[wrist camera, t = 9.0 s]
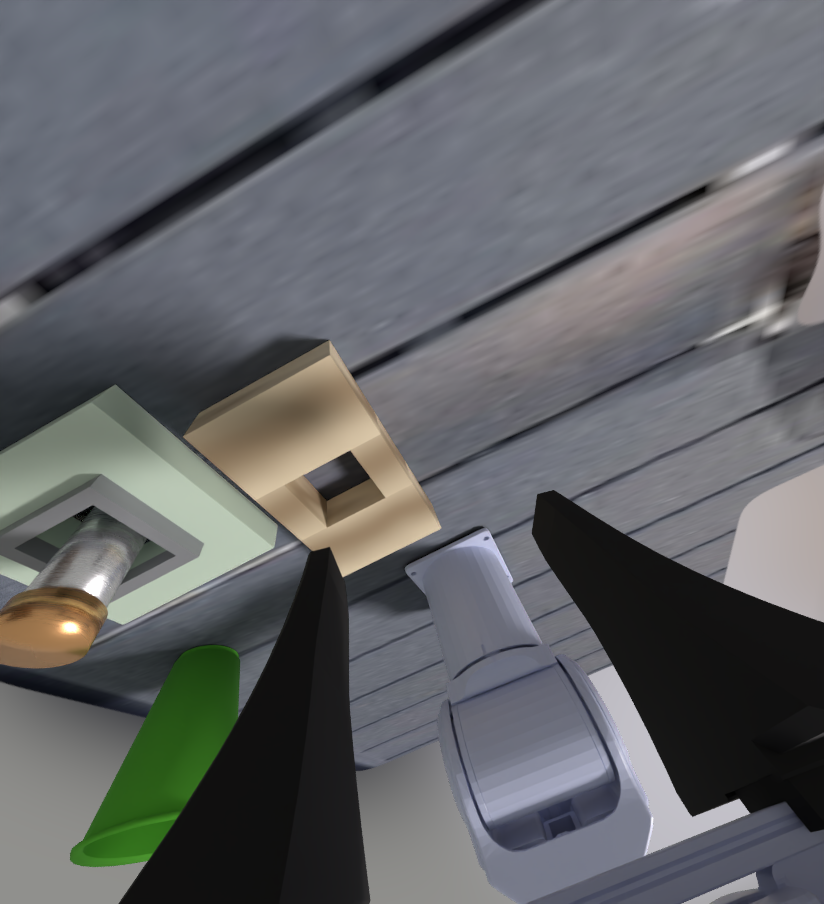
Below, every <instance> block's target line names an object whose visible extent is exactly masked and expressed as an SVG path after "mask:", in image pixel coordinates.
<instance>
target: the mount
mask: <svg viewBox="0 0 824 904" xmlns="http://www.w3.org/2000/svg"><path fill="white" fill-rule="evenodd" d="M183 438H185V439H186V440H187V441H188V442H189V443H190V444H191V445H193V446H194V447H195V448H196V449H197V450H198V451H199V452H201V453H202V454H203V455H204V456H205V457H206V458H207V459H209V460H210V461H211V462H212V463H213V464H214V465H215V466H216V467H218V468H219V469H220V470H221V471H222V472H223V473H224V474H226V475H227V476H228V477H229V478H230V479H231V480H232V481H234V482H235V483H236V484H237V485H238V486H239V487H240V488H242V489H243V490H244V491H245V492H246V493H247V494H248V495H249V496H251V497H252V498H253V499H254V500H255V501H256V502H257V503H259V504H260V505H261V506H262V507H263V508H264V509H265V510H267V511H268V512H269V513H270V514H271V515H272V516H273V517H275V518H276V519H277V520H278V521H279V522H280V523H281V524H282V525H284V526H285V527H286V528H287V529H288V530H289V531H290V532H292V533H293V534H294V535H295V536H296V537H297V538H298V539H300V540H301V541H302V542H303V543H304V544H305V545H306V546H307V547H309V548H310V549H311V550H312V551H315V550H319V549H323V548H327V547H330V548H331V550H332V553H333V555H334V558H335V560H336V562H337V565H338V567H339V570H340V572H341V574H342V577H344V576H346V575H348V574H350V573H352V572H354V571H357V570H359V569H361V568H363V567H365V566H367V565H369V564H371V563H373V562H375V561H377V560H379V559H381V558H383V557H385V556H387V555H389V554H391V553H393V552H395V551H397V550H399V549H401V548H403V547H405V546H407V545H409V544H411V543H413V542H415V541H417V540H419V539H421V538H423V537H425V536H427V535H429V534H431V533H433V532H435V531H437V530H439V529H441V526H440V524H439V521H438V519H437V516H436V514H435V511H434V508H433V506H432V504H431V502H430V501H429V499H428V497H427V496H426V494H425V492H424V491H423V489H422V488H421V486H420V484H419V483H418V481H417V480H416V478H415V476H414V475H413V473H412V472H411V470H410V468H409V467H408V465H407V464H406V462H405V460H404V459H403V457H402V456H401V454H400V452H399V451H398V449H397V448H396V446H395V444H394V443H393V441H392V440H391V438H390V436H389V435H388V433H387V432H386V430H385V428H384V427H383V425H382V424H381V422H380V420H379V419H378V417H377V415H376V414H375V412H374V411H373V409H372V407H371V406H370V404H369V403H368V401H367V399H366V398H365V396H364V395H363V393H362V391H361V390H360V388H359V387H358V385H357V383H356V382H355V380H354V379H353V377H352V375H351V374H350V372H349V371H348V369H347V367H346V366H345V364H344V363H343V361H342V359H341V358H340V356H339V355H338V353H337V351H336V350H335V348H334V347H333V345H332V343H331V342H330V340H328V341H327V342H325V343H323V344H321V345H319V346H318V347H316V348H314V349H312V350H311V351H309V352H307V353H305V354H303V355H302V356H300V357H298V358H296V359H294V360H293V361H291V362H289V363H287V364H286V365H284V366H282V367H280V368H278V369H277V370H275V371H273V372H271V373H270V374H268V375H266V376H264V377H262V378H261V379H259V380H257V381H255V382H253V383H252V384H250V385H248V386H246V387H245V388H243V389H241V390H239V391H237V392H236V393H234V394H232V395H230V396H228V397H227V398H225V399H223V400H221V401H220V402H218V403H216V404H214V405H212V406H211V407H209V408H207V409H205V410H203V411H202V412H200V413H199V414H198V415H197V417H196V418H195V420H194V421H193V423H192V424H191V426H190V427H189V428H188V430H187V431H186V433H185V434H184V436H183ZM348 451H351V452H352V453H353V455H354V456H355V457H356V459H357V460H358V461H359V463H360V464H361V465H362V467H363V468H364V470H365V471H366V472H367V474H368V475H369V476H370V479H369V480H367V481H365V482H363V483H361V484H359V485H357V486H355V487H353V488H351V489H349V490H347V491H345V492H343V493H341V494H340V495H338V496H336V497H334V498H332V499H330V500H328V501H326V500H325V498H324V497H323V496H322V495H321V494H320V493H319V492H318V491H317V490H316V489H315V488H314V487H313V486H312V484H311V483H310V482H309V481H308V480H307V479H306V478H305V477H304V476H303V475H304V474H306V473H308V472H310V471H312V470H314V469H316V468H318V467H319V466H321V465H323V464H325V463H327V462H329V461H331V460H333V459H335V458H337V457H338V456H340V455H342V454H344V453H346V452H348Z"/></svg>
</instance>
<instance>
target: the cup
mask: <svg viewBox="0 0 824 904" xmlns="http://www.w3.org/2000/svg"><path fill="white" fill-rule="evenodd" d="M239 678H240V659H239V655H238V653H237V652H236V651H235V650H234V649H232V648H229V647H226V646H220V645H206V646H200V647H195V648H192V649H190V650H188V651H186V652H184V653H183V654H182V655H181V656H180V657H179V659H178V660H177V661H176V662H175V663H174V665H173V667H172V669H171V671H170V673H169V675H168V677H167V679H166V681H165V682H164V684H163V686H162V688H161V690H160V692H159V694H158V696H157V698H156V700H155V702H154V704H153V706H152V708H151V710H150V711H149V713H148V715H147V717H146V719H145V721H144V723H143V725H142V727H141V729H140V731H139V733H138V735H137V737H136V739H135V741H134V743H133V744H132V746H131V748H130V750H129V752H128V754H127V756H126V758H125V760H124V762H123V764H122V766H121V768H120V770H119V771H118V773H117V775H116V777H115V779H114V781H113V783H112V785H111V787H110V789H109V791H108V793H107V795H106V797H105V799H104V801H103V802H102V804H101V806H100V808H99V810H98V812H97V814H96V816H95V818H94V820H93V822H92V824H91V826H90V828H89V830H88V832H87V833H86V835H85V837H84V839H83V841H81V842H79V843H78V844H77V845H76V846H75V847H73V848H72V850H71V853H70V860H71V861H72V862H73V863H74V864H77V865H80V866H89V867H102V866H116V865H125V864H132V863H138V862H143V861H148V860H149V859H150V857H151V856H152V854H153V853H154V851H155V850H156V848H157V847H158V846H159V844H160V843H161V841H162V840H163V838H164V837H165V835H166V834H167V832H168V831H169V830H170V828H171V827H172V825H173V824H174V822H175V820H176V819H177V817H178V816H179V814H180V813H181V811H182V810H183V808H184V807H185V805H186V803H187V802H188V800H189V799H190V797H191V795H192V794H193V792H194V791H195V789H196V788H197V786H198V784H199V783H200V781H201V780H202V778H203V776H204V775H205V773H206V772H207V770H208V768H209V767H210V765H211V764H212V762H213V760H214V759H215V757H216V756H217V754H218V752H219V751H220V749H221V747H222V745H223V744H224V742H225V740H226V739H227V737H228V735H229V733H230V732H231V730H232V728H233V726H234V724H235V723H236V721H237V719H238V702H239Z"/></svg>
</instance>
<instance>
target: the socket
mask: <svg viewBox="0 0 824 904" xmlns="http://www.w3.org/2000/svg"><path fill="white" fill-rule="evenodd" d="M92 505H94V506H95V507H97V508H99V509H100V510H102V511H104V512H105V513H107V514H108V515H110V516H112V517H113V518H115V519H117V520H118V521H120V522H122V523H123V524H125V525H126V526H128V527H130V528H131V529H133V530H135V531H136V532H138V533H140V534H141V535H143V536H144V537H146V538H148V539H149V540H151V541H149V542H148V543H146V544H144V545H143V546H142V548H141V550H140V551H139V553H138V555H137V557H136V558H135V560H134V562H133V564H132V565H131V567H130V569H129V571H128V572H127V574H126V576H125V577H124V579H123V581H122V583H121V584H120V586H119V588H118V590H117V591H116V593H115V595H114V597H113V598H112V600H111V602H110V603H109V605H108V607H107V610H108V616H107V618H108V619H110V620H113V621H115V622H117V623H120V624H122V625H124V624H126V623H128V622H130V621H132V620H134V619H136V618H138V617H140V616H142V615H144V614H145V613H147V612H149V611H151V610H153V609H155V608H157V607H159V606H161V605H163V604H165V603H167V602H169V601H171V600H173V599H175V598H177V597H179V596H181V595H183V594H185V593H187V592H188V591H190V590H192V589H194V588H196V587H198V586H200V585H202V584H204V583H206V582H208V581H210V580H212V579H214V578H216V577H218V576H220V575H222V574H224V573H226V572H228V571H229V570H231V569H233V568H235V567H237V566H239V565H241V564H243V563H245V562H247V561H249V560H251V559H253V558H255V557H257V556H259V555H261V554H263V553H265V552H267V551H269V550H271V549H272V548H274V546H275V540H276V533H277V527H278V525H277V524H276V523H275V522H274V521H272V520H271V519H270V518H269V517H268V516H267V515H266V514H264V513H263V512H262V511H261V510H260V509H259V508H257V507H256V506H255V505H254V504H253V503H252V502H251V501H249V500H248V499H247V498H246V497H245V496H244V495H242V494H241V493H240V492H239V491H238V490H237V489H236V488H234V487H233V486H232V485H231V484H230V483H229V482H227V481H226V480H225V479H224V478H223V477H222V476H221V475H219V474H218V473H217V472H216V471H215V470H214V469H212V468H211V467H210V466H209V465H208V464H207V463H206V462H204V461H203V460H202V459H201V458H200V457H199V456H197V455H196V454H195V453H194V452H193V451H192V450H191V449H189V448H188V447H187V446H186V445H185V444H184V443H182V442H181V441H180V440H179V439H178V438H177V437H176V436H174V435H173V434H172V433H171V432H170V431H169V430H167V429H166V428H165V427H164V426H163V425H162V424H160V423H159V422H158V421H157V420H156V419H155V418H154V417H152V416H151V415H150V414H149V413H148V412H147V411H145V410H144V409H143V408H142V407H141V406H140V405H139V404H137V403H136V402H135V401H134V400H133V399H132V398H130V397H129V396H128V395H127V394H126V393H125V392H124V391H122V390H121V389H120V388H119V387H118V386H117V385H114V386H112V387H110V388H108V389H107V390H105V391H103V392H102V393H100V394H98V395H96V396H95V397H93V398H91V399H90V400H88V401H86V402H84V403H83V404H81V405H79V406H78V407H76V408H74V409H72V410H71V411H69V412H67V413H65V414H64V415H62V416H60V417H59V418H57V419H55V420H53V421H52V422H50V423H48V424H47V425H45V426H43V427H41V428H40V429H38V430H36V431H35V432H33V433H31V434H29V435H28V436H26V437H24V438H23V439H21V440H19V441H17V442H16V443H14V444H12V445H11V446H9V447H7V448H5V449H4V450H2V451H0V574H2V575H4V576H6V577H9V578H11V579H14V580H16V581H19V582H21V583H23V584H26V585H28V586H29V585H30V584H31V582H32V581H33V580H34V579H35V578H36V576H37V575H38V574H39V573H40V572H41V570H42V569H43V568H44V567H45V566H46V564H47V563H48V562H49V561H50V560H51V558H52V557H53V556H54V555H55V554H56V552H57V551H58V550H59V549H60V548H61V546H62V545H63V544H64V543H65V542H66V540H67V539H68V538H69V537H70V536H71V534H72V533H73V532H74V531H75V530H76V528H77V527H78V526H79V525H80V524H81V521H79V520H77V519H76V518H74V517H72V516H73V515H75V514H77V513H79V512H81V511H83V510H84V509H86V508H88V507H90V506H92Z"/></svg>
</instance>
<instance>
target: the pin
mask: <svg viewBox="0 0 824 904" xmlns="http://www.w3.org/2000/svg"><path fill="white" fill-rule="evenodd" d="M146 539H147V538H146V537H144V536H143V535H141V534H140V533H138V532H136V531H135V530H133V529H131V528H130V527H128V526H126V525H125V524H123V523H122V522H120V521H118V520H117V519H115V518H113V517H112V516H110V515H108V514H107V513H105V512H104V511H102V510H100V509H99V508H97V507H94V508H93V509H92V510H91V512H90V513H89V514H88V515H87V516H86V518H85V519H84V520H83V521H82V522H81V524H80V525H79V526H78V527H77V528H76V530H75V531H74V532H73V533H72V534H71V536H70V537H69V538H68V539H67V540H66V542H65V543H64V544H63V545H62V546H61V548H60V549H59V550H58V551H57V552H56V554H55V555H54V556H53V557H52V558H51V560H50V561H49V562H48V563H47V564H46V566H45V567H44V568H43V569H42V570H41V572H40V573H39V574H38V575H37V576H36V578H35V579H34V580H33V581H32V582H31V584H30V585H29V586H28V587H27V589H26V590H25V591H24V592H22V593H19V594H17V595H15V596H14V597H12V598H11V599H10V600H9V601H8V602H7V603H6V605H5V606H4V607H3V608H2V609H1V610H0V664H4V665H8V666H13V667H21V668H51V667H58V666H63V665H67V664H70V663H73V662H75V661H77V660H79V659H81V658H82V657H84V656H85V655H86V654H87V652H88V651H89V649H90V647H91V645H92V643H93V642H94V640H95V638H96V636H97V634H98V633H99V631H100V629H101V627H102V626H103V624H104V622H105V620H106V618H107V616H108V610H107V607H108V605H109V603H110V602H111V600H112V598H113V597H114V595H115V593H116V591H117V590H118V588H119V586H120V584H121V583H122V581H123V579H124V577H125V576H126V574H127V572H128V571H129V569H130V567H131V565H132V564H133V562H134V560H135V558H136V557H137V555H138V553H139V551H140V550H141V548H142V546H143V545H144V543H145V541H146Z"/></svg>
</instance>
